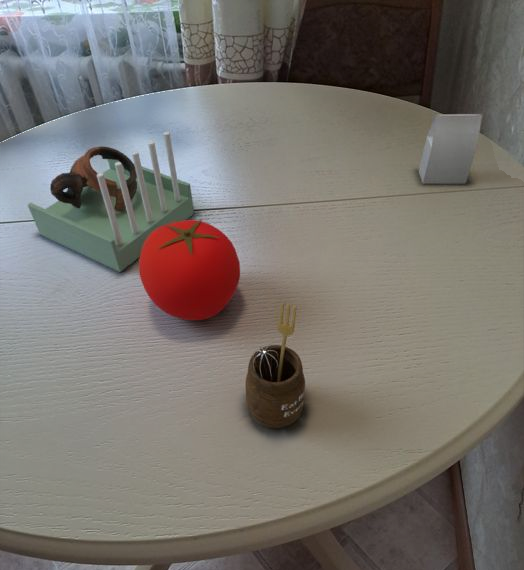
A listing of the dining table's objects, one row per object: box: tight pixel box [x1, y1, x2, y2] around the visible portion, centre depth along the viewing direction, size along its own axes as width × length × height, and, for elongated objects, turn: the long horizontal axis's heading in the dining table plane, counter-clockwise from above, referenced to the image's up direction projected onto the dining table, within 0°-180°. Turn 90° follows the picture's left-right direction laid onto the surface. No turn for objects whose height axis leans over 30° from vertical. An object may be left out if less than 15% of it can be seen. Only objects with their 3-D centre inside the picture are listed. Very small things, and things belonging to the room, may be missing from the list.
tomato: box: [138, 218, 241, 321], centre depth 59 cm, size 12×12×10 cm
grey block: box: [418, 113, 483, 185], centre depth 77 cm, size 4×7×10 cm, turn 89°
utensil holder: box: [245, 301, 306, 429], centre depth 48 cm, size 6×6×12 cm
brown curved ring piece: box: [49, 146, 137, 211], centre depth 70 cm, size 12×10×8 cm
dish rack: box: [27, 131, 195, 273], centre depth 69 cm, size 16×16×13 cm
